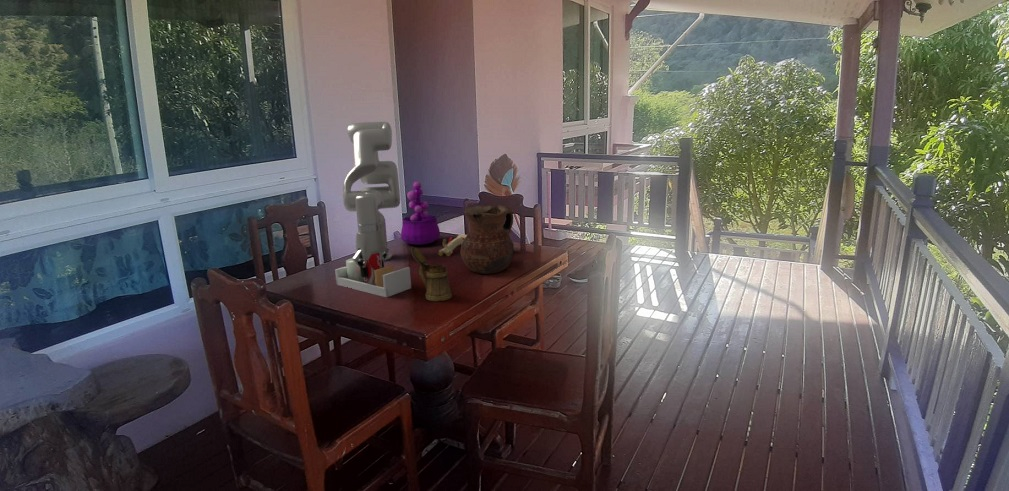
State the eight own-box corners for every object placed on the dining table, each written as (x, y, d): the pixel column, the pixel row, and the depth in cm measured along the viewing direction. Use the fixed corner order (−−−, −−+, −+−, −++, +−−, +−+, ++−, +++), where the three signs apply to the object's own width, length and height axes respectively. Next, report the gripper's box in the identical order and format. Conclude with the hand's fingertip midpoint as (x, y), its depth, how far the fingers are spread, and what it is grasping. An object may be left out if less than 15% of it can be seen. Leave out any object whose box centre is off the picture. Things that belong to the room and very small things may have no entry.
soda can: (378, 285, 215) (376, 254, 212) (361, 285, 216) (357, 253, 213) (386, 280, 222) (383, 249, 219) (369, 279, 223) (366, 248, 220)
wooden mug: (420, 292, 211) (416, 243, 207) (455, 294, 207) (452, 244, 203) (409, 300, 203) (405, 249, 198) (446, 302, 199) (443, 251, 195)
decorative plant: (423, 250, 271) (418, 185, 264) (393, 245, 281) (388, 183, 274) (448, 241, 286) (444, 179, 279) (419, 237, 296) (415, 178, 289)
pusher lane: (336, 284, 223) (334, 264, 221) (361, 276, 232) (359, 257, 230) (386, 297, 207) (384, 275, 205) (411, 288, 216) (409, 267, 214)
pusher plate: (376, 291, 212) (374, 270, 210) (393, 285, 219) (391, 264, 217) (377, 292, 212) (375, 270, 210) (395, 285, 218) (393, 265, 216)
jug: (495, 280, 222) (492, 215, 216) (450, 273, 233) (447, 211, 227) (524, 265, 240) (522, 205, 234) (482, 259, 251) (479, 201, 245)
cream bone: (454, 259, 258) (476, 242, 280) (452, 240, 255) (475, 224, 277) (434, 258, 261) (457, 241, 283) (432, 239, 258) (456, 223, 281)
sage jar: (344, 283, 224) (342, 261, 222) (359, 279, 230) (356, 256, 227) (356, 286, 220) (353, 263, 218) (370, 281, 225) (368, 259, 223)
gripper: (380, 222, 223) (384, 267, 227) (342, 231, 209) (347, 279, 214) (393, 224, 218) (397, 270, 223) (356, 233, 205) (361, 282, 209)
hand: (373, 274), depth 218 cm, fingers closed on soda can, 7 cm apart
